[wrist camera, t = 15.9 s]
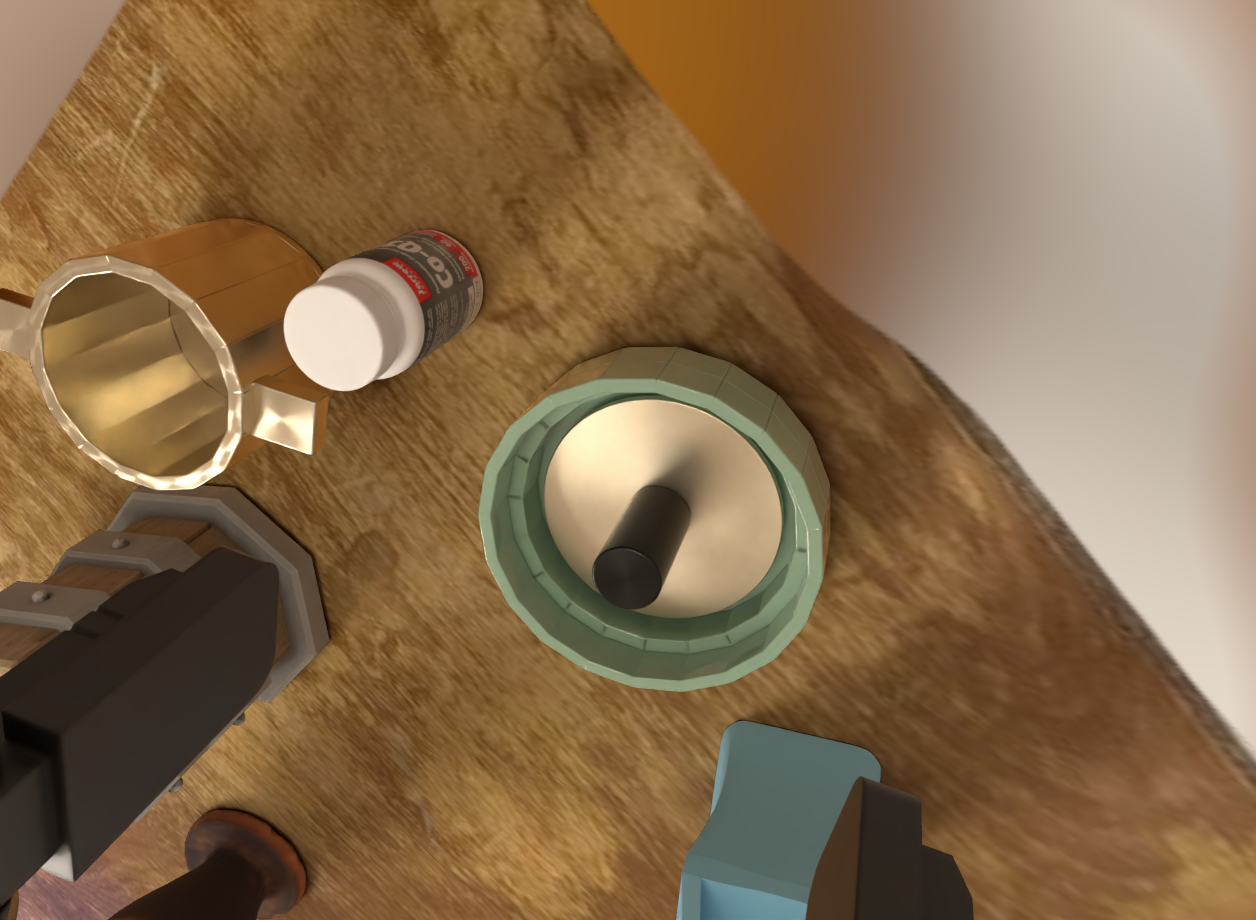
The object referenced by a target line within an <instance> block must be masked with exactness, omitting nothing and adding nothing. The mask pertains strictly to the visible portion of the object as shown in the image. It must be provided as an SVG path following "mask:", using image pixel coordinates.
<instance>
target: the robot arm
mask: <svg viewBox="0 0 1256 920" xmlns="http://www.w3.org/2000/svg"><path fill="white" fill-rule="evenodd" d="M278 595H279V571H278V568H277V566H276V565H275V564H273V563H271V562H268V561H265V560H262V559H259V558H257V557H254V556H251V555H248V554H245V553H243V552H240V551H237V550H234V549H232V548H229V547H225V546H221V547H217V548H215V549H214V550H212V551H210V552H209V553H208V554H207V555H205V556H204V557H203V558H201V559H200V560H199V561H197V562H196V563H195V564H193V565H192V566H191V567H189V568H188V569H187V570H185V571H184V572H181V571H178V570H175V569H172V568H170V569H168V570H165V571H162V572H160V573H157V574H154V575H151V576H149V577H146V578H143V579H140V580H138V581H135V582H132V583H130V584H128V585H127V586H126V587H124V588H123V589H122V590H120V591H119V592H117V593H116V594H115V595H113V596H112V597H110V598H109V599H108V600H106V601H105V602H104V603H102V604H101V605H99V607H98V610H97V611H96V612H95V611H91V612H90V613H88V614H87V615H85V616H84V617H83V618H81V619H80V620H79V621H77V622H76V623H74V624H73V625H72V628H71V630H70V631H68V630H65V631H63V632H62V633H61V634H59V635H58V636H56V637H55V638H54V639H52V640H51V641H49V642H48V643H47V644H45V645H44V646H43V647H41V648H40V649H38V650H37V651H36V652H34V653H33V654H31V655H30V656H29V657H27V658H26V659H25V660H23V661H22V662H20V663H19V664H18V665H16V666H15V667H13V668H12V669H11V670H9V671H8V672H7V673H5V674H4V675H2V676H1V677H0V920H16V918H17V911H18V904H19V894H18V889H20V888H21V887H22V886H23V885H24V884H25V883H26V882H27V881H28V880H29V879H30V878H31V877H32V876H33V875H34V874H35V873H36V872H37V871H38V870H39V869H42V870H44V871H47V872H49V873H51V874H54V875H56V876H58V877H61V878H63V879H65V880H68V881H70V882H73V883H74V882H75V881H76V880H77V879H78V878H79V877H80V876H81V875H82V874H83V873H84V872H85V871H86V870H87V869H88V868H89V867H90V866H91V865H92V864H93V863H94V862H95V861H96V860H97V858H98V857H99V856H100V855H101V854H102V853H103V852H104V851H105V850H106V849H107V848H108V847H109V846H110V845H111V844H112V843H113V842H114V841H115V840H116V839H117V838H118V837H119V836H120V835H121V834H122V833H123V832H124V831H125V830H126V829H127V828H128V827H129V825H130V824H131V823H132V822H133V821H134V820H135V819H136V818H137V817H138V816H139V815H140V814H141V813H142V812H143V811H144V810H145V809H146V808H147V807H148V806H149V805H150V804H151V803H152V802H153V801H154V800H155V799H156V798H157V797H158V796H159V795H160V794H161V792H162V791H163V790H164V789H165V788H166V787H167V786H168V785H169V784H170V783H171V782H172V781H173V780H174V779H175V778H176V777H177V776H178V775H179V774H180V773H181V772H182V771H183V770H184V769H185V768H186V767H187V766H188V765H189V764H190V763H191V762H192V761H193V759H194V758H195V757H196V756H197V755H198V754H199V753H200V752H201V751H202V750H203V749H204V748H205V747H206V746H207V745H208V744H209V743H210V742H211V741H212V740H213V739H214V738H215V737H216V736H217V735H218V734H219V733H220V732H221V731H222V730H223V729H224V728H225V727H226V725H227V724H228V723H229V722H230V721H231V720H232V719H233V718H234V717H235V716H236V715H237V714H238V713H239V712H240V711H241V710H242V709H243V708H244V707H245V706H246V705H247V704H248V703H249V702H250V701H251V700H252V699H253V698H254V696H255V695H256V694H257V693H258V692H259V690H260V689H261V687H262V686H263V684H264V682H265V681H266V679H267V677H268V675H269V672H270V670H271V667H272V665H273V661H274V657H275V651H276V633H277V614H278ZM805 920H974V918H973V904H972V896H971V894H970V892H969V890H968V888H967V886H966V884H965V881H964V879H963V877H962V875H961V873H960V871H959V869H958V867H957V865H956V862H955V860H954V858H953V856H952V855H949V854H947V853H944V852H941V851H938V850H936V849H933V848H930V847H927V846H925V845H922V825H921V802H920V799H919V797H918V796H915V795H912V794H909V793H907V792H904V791H901V790H898V789H896V788H893V787H890V786H887V785H884V784H882V783H879V782H876V781H873V780H870V779H868V778H865V777H862V776H859V777H858V778H857V779H856V781H855V782H854V784H853V786H852V788H851V791H850V793H849V795H848V797H847V799H846V802H845V804H844V806H843V808H842V811H841V813H840V815H839V817H838V819H837V822H836V824H835V826H834V828H833V830H832V833H831V835H830V837H829V839H828V842H827V844H826V846H825V848H824V850H823V853H822V855H821V857H820V860H819V862H818V865H817V868H816V871H815V874H814V878H813V881H812V885H811V889H810V894H809V898H808V904H807V911H806V919H805Z"/></svg>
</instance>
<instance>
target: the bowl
mask: <svg viewBox="0 0 1256 920" xmlns="http://www.w3.org/2000/svg"><path fill="white" fill-rule="evenodd" d="M636 396H666V397H671V398H674V399H677V400H680V401H684V402H687V403H690V404H693V405H697V406H700V407H703V408H706V409H709V410H710V411H712V412H713V413H715V414H716V415H718V416H719V417H721V418H722V419H724V420H725V421H727V422H728V423H730V424H731V425H733V426H734V427H736V428H737V429H739V430H740V431H742V432H743V433H745V434H746V435H748V436H749V438H750V439H751V440H752V441H753V442H754V443H755V444H756V445H757V447H758V448H759V449H760V450H761V452H762V453H763V455H764V456H765V458H766V459H767V461H768V462H769V464H770V466H771V468H772V470H773V472H774V474H775V476H776V479H777V482H778V485H779V488H780V491H781V496H782V501H783V508H784V526H783V535H782V539H781V543H780V547H779V551H778V554H777V556H776V558H775V561H774V563H773V565H772V567H771V569H770V570H769V572H768V573H767V575H766V577H765V578H764V579H763V580H762V581H761V583H760V584H759V585H758V586H757V587H756V588H755V589H754V590H753V591H752V592H751V593H749V594H748V595H747V596H746V597H745V598H743V599H742V600H740V601H738V602H737V603H735V604H734V605H732V606H730V607H727V608H725V609H723V610H721V611H718V612H715V613H712V614H709V615H705V616H699V617H693V618H679V619H676V618H661V617H655V616H650V615H645V614H642V613H638V612H635V611H632V610H629V609H623V608H619V607H617V606H614V605H613V604H611V603H609V602H608V601H606V600H605V599H604V598H603V597H602V596H601V595H600V594H599V593H598V592H596V591H595V590H593V589H592V588H591V587H590V586H589V585H587V584H586V583H585V582H584V581H583V580H582V579H581V578H580V577H579V576H578V575H577V574H576V573H575V572H574V571H573V570H572V569H571V567H570V566H569V565H568V563H567V562H566V561H565V559H564V558H563V557H562V555H561V553H560V551H559V550H558V548H557V546H556V544H555V542H554V540H553V538H552V535H551V533H550V530H549V527H548V523H547V520H546V515H545V509H544V482H545V475H546V472H547V468H548V465H549V462H550V459H551V457H552V455H553V453H554V450H555V449H556V447H557V446H558V444H559V443H560V441H561V440H562V438H563V437H564V436H565V435H566V433H567V432H568V431H569V430H570V429H571V428H572V427H573V426H574V425H575V424H576V423H577V422H578V421H579V420H580V419H582V418H583V417H584V416H585V415H587V414H589V413H590V412H592V411H593V410H595V409H597V408H599V407H601V406H603V405H606V404H608V403H610V402H613V401H617V400H620V399H624V398H629V397H636ZM478 513H479V514H478V517H479V523H480V529H481V535H482V541H483V546H484V552H485V558H486V562H487V564H488V566H489V568H490V570H491V572H492V574H493V576H494V578H495V580H496V582H497V584H498V586H499V588H500V590H501V592H502V594H503V596H504V598H505V600H506V602H507V604H508V605H509V606H510V607H511V608H512V610H513V611H514V612H515V613H516V614H517V615H518V616H519V617H520V618H521V620H522V621H523V622H524V623H525V624H526V625H527V626H528V627H529V628H530V629H531V631H532V632H533V633H534V634H535V635H536V636H537V637H538V638H539V639H540V641H542V642H543V643H545V644H546V645H548V646H549V647H551V648H552V649H554V650H555V651H557V652H558V653H560V654H561V655H563V656H564V657H566V658H567V659H569V660H570V661H572V662H573V663H575V664H576V665H578V666H579V667H581V668H582V669H585V670H586V671H589V672H591V673H594V674H597V675H600V676H603V677H605V678H608V679H611V680H614V681H617V682H619V683H622V684H625V685H628V686H631V687H632V686H633V687H635V688H646V689H657V690H668V691H678V692H685V691H690V690H696V689H701V688H707V687H712V686H718V685H723V684H728V683H731V682H734V681H736V680H738V679H739V678H741V677H743V676H745V675H747V674H749V673H751V672H753V671H754V670H756V669H758V668H760V667H762V666H764V665H766V664H768V663H769V662H771V661H773V660H774V659H776V657H777V656H778V655H779V654H780V653H781V652H782V651H783V650H784V649H785V647H786V646H787V645H788V644H789V643H790V642H791V641H792V640H793V639H794V637H795V636H796V635H797V634H798V633H799V632H800V631H801V630H802V629H803V627H804V626H805V625H806V623H807V621H808V618H809V615H810V613H811V610H812V607H813V605H814V602H815V600H816V597H817V594H818V592H819V589H820V586H821V584H822V581H823V576H824V570H825V563H826V557H827V551H828V545H829V538H830V532H831V517H830V483H829V480H828V477H827V475H826V472H825V469H824V466H823V464H822V461H821V458H820V456H819V453H818V450H817V448H816V445H815V442H814V440H813V437H811V434H810V433H809V432H808V430H807V429H806V428H805V427H804V425H803V424H802V423H801V422H800V421H799V419H798V418H797V417H796V416H795V414H794V413H793V412H792V411H791V409H790V408H789V407H788V406H787V404H786V403H785V402H784V401H783V399H782V398H781V397H780V396H779V395H777V393H776V392H774V391H773V390H771V389H770V388H768V387H767V386H765V385H764V384H762V383H761V382H759V381H758V380H756V379H755V378H753V377H752V376H750V375H749V374H747V373H746V372H744V371H743V370H741V369H740V368H738V367H737V366H735V365H734V364H731V363H730V362H727V361H724V360H720V359H717V358H714V357H710V356H707V355H704V354H701V353H697V352H694V351H691V350H687V349H684V348H681V347H680V348H678V347H627V348H622V349H620V350H617V351H614V352H611V353H608V354H605V355H602V356H599V357H596V358H594V359H591V360H588V361H585V362H582V363H580V364H577V365H576V366H575V367H574V368H572V369H571V370H570V371H569V372H567V373H566V374H565V375H564V376H562V377H561V378H560V379H559V380H557V381H556V382H555V383H554V384H553V385H551V386H550V387H549V388H548V389H546V390H545V391H544V392H543V393H542V394H541V395H540V396H539V397H538V398H537V399H536V400H535V401H534V402H533V403H532V404H531V405H530V406H529V407H528V408H527V409H526V410H525V411H524V412H523V413H522V414H521V415H520V416H519V417H518V418H517V419H516V420H515V421H514V422H513V423H512V424H511V425H510V426H509V427H508V429H507V431H506V433H505V434H504V436H503V438H502V439H501V441H500V443H499V445H498V446H497V448H496V450H495V452H494V453H493V455H492V457H491V458H490V460H489V462H488V464H487V465H486V468H485V473H484V479H483V485H482V491H481V497H480V503H479V510H478Z"/></svg>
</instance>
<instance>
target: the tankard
mask: <svg viewBox="0 0 1256 920" xmlns="http://www.w3.org/2000/svg"><path fill="white" fill-rule="evenodd" d="M221 546H225V547H229V548H232V549H234V550H237V551H240V552H243V553H245V554H248V555H251V556H254V557H257V558H259V559H262V560H265V561H268V562H271V563H273V564H275V565H276V566H277V568H278V571H279V595H278V614H277V633H276V651H275V657H274V661H273V665H272V667H271V670H270V672H269V675H268V677H267V679H266V681H265V682H264V684H263V686H262V687H261V689H260V690H259V692H258V693H257V694H256V695H255V696H254V698H253V699H252V700H251V701H250V702H249V703H248V704H247V705H246V706H245V707H244V708H243V709H242V710H241V711H240V712H239V713H238V714H237V715H236V716H235V717H234V718H233V719H232V720H231V721H230V722H229V723H228V724H227V725H226V727H225V728H224V729H223V730H222V731H221V732H220V733H219V734H218V735H217V736H216V737H215V738H214V739H213V740H212V741H211V742H210V743H209V744H208V745H207V746H206V747H205V748H204V749H203V750H202V751H201V752H200V753H199V754H198V755H197V756H196V757H195V758H194V759H193V761H192V762H191V763H190V764H189V765H188V766H187V767H186V768H185V769H184V770H183V771H182V772H181V773H180V774H179V775H178V776H177V777H176V778H175V779H174V780H173V781H172V782H171V783H170V784H169V785H168V786H167V787H166V788H165V789H164V790H163V791H162V792H161V794H160V795H159V796H158V797H157V798H156V799H155V800H154V801H153V802H152V803H151V804H150V805H149V806H148V807H147V808H146V809H145V810H144V811H143V812H142V813H141V814H140V815H139V816H138V817H137V818H136V819H135V820H134V821H133V822H139V821H140V819H141V818H142V817H143V816H144V815H145V814H146V813H147V812H148V811H149V810H150V809H151V808H152V807H153V806H154V805H155V804H156V803H157V802H158V801H159V800H160V799H161V798H162V797H163V796H164V795H165V794H166V792H167V791H169V792H176V791H178V790H179V789H181V787H182V785H183V780H182V778H181V777H182V776H183V775H184V774H185V772H186V771H187V770H188V769H189V768H190V767H191V766H192V765H193V764H194V763H195V762H196V761H197V760H198V759H199V758H200V757H201V756H202V755H203V754H204V752H206V751H207V750H208V749H209V748H210V747H211V746H212V745H213V744H214V743H215V742H216V741H217V740H218V738H219V737H220V736H221V735H222V734H223V733H224V732H225V731H226V730H227V729H228V728H229V727H230V726H231V725H232V724H233V725H240V724H242V723H243V722H244V720H245V713H243V712H244V711H245V710H246V709H247V708H248V707H249V706H250V705H251V704H252V703H253V702H254V701H255V700H257V701H264V702H271V701H272V700H273V699H274V698H275V697H276V696H277V695H278V694H279V693H280V692H281V691H282V690H283V689H284V688H285V687H286V686H287V685H288V684H289V683H290V682H291V680H292V679H293V678H294V677H295V676H296V675H297V674H298V673H299V672H300V671H301V670H302V669H303V668H304V667H305V666H306V665H307V664H308V663H309V662H310V661H311V660H312V659H313V658H314V657H315V656H316V655H317V654H318V653H319V651H320V650H321V649H322V648H323V647H324V646H325V645H326V644H327V643H328V642H329V636H328V631H327V627H326V622H325V618H324V613H323V608H322V604H321V599H320V594H319V590H318V585H317V580H316V576H315V571H314V567H313V562H312V557H311V556H310V555H309V554H308V553H307V552H306V551H305V550H303V549H302V548H301V547H300V546H299V545H298V544H297V543H296V542H294V541H293V540H292V539H291V538H290V537H289V536H288V535H287V534H286V533H284V532H283V531H282V530H281V529H280V528H279V527H278V526H277V525H276V524H274V523H273V522H272V521H271V520H270V519H269V518H268V517H267V516H266V515H264V514H263V513H262V512H261V511H260V510H259V509H258V508H257V507H256V506H254V505H253V504H252V503H251V502H250V501H249V500H248V499H247V498H245V497H244V496H243V495H242V494H241V493H240V492H239V491H238V490H237V489H235V488H231V487H219V486H206V485H201V486H200V487H198V488H195V489H187V490H167V491H157V490H153V489H150V488H147V487H145V486H141V487H139V488H138V489H136V490H134V491H133V492H132V493H131V494H130V496H129V497H128V499H127V500H126V502H125V503H124V504H123V506H122V507H121V509H120V510H119V512H118V513H117V515H116V516H115V518H114V519H113V521H112V522H111V524H110V525H109V527H108V528H107V529H106V531H104V530H98V531H96V532H95V533H93V534H91V535H90V536H88V537H87V538H85V539H83V540H82V541H80V542H79V543H77V544H76V545H74V546H72V547H71V548H69V549H68V550H66V552H65V553H64V555H63V556H62V558H61V559H60V561H59V562H58V563H57V565H56V566H55V568H54V570H53V571H52V573H51V574H50V576H49V577H48V579H47V580H46V581H44V582H42V583H41V584H38V583H30V582H21V581H17V582H15V583H14V584H12V585H10V586H9V587H7V588H6V589H4V590H2V591H1V592H0V677H1V676H2V675H4V674H5V673H7V672H8V671H9V670H11V669H12V668H13V667H15V666H16V665H18V664H19V663H20V662H22V661H23V660H25V659H26V658H27V657H29V656H30V655H31V654H33V653H34V652H36V651H37V650H38V649H40V648H41V647H43V646H44V645H45V644H47V643H48V642H49V641H51V640H52V639H54V638H55V637H56V636H58V635H59V634H61V633H62V632H63V631H65V630H68V631H70V630H71V628H72V625H73V624H74V623H76V622H77V621H79V620H80V619H81V618H83V617H84V616H85V615H87V614H88V613H90V612H91V611H95V612H96V611H97V610H98V607H99V605H101V604H102V603H104V602H105V601H106V600H108V599H109V598H110V597H112V596H113V595H115V594H116V593H117V592H119V591H120V590H122V589H123V588H124V587H126V586H127V585H128V584H130V583H132V582H135V581H138V580H140V579H143V578H146V577H149V576H151V575H154V574H157V573H160V572H162V571H165V570H168V569H170V568H172V569H175V570H178V571H181V572H184V571H185V570H187V569H188V568H189V567H191V566H192V565H193V564H195V563H196V562H197V561H199V560H200V559H201V558H203V557H204V556H205V555H207V554H208V553H209V552H210V551H212V550H214V549H215V548H217V547H221Z"/></svg>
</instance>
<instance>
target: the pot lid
mask: <svg viewBox="0 0 1256 920" xmlns="http://www.w3.org/2000/svg"><path fill="white" fill-rule="evenodd" d="M544 509H545V515H546V520H547V523H548V527H549V530H550V533H551V535H552V538H553V540H554V542H555V544H556V546H557V548H558V550H559V551H560V553H561V555H562V557H563V558H564V559H565V561H566V562H567V563H568V565H569V566H570V567H571V569H572V570H573V571H574V572H575V573H576V574H577V575H578V576H579V577H580V578H581V579H582V580H583V581H584V582H585V583H586V584H587V585H589V586H590V587H591V588H592V589H593V590H595V591H596V592H598V593H599V594H600V595H601V596H602V597H603V598H604V599H605V600H606V601H608V602H609V603H611V604H613V605H614V606H617V607H619V608H623V609H629V610H632V611H635V612H638V613H642V614H645V615H650V616H655V617H661V618H676V619H679V618H693V617H699V616H705V615H709V614H712V613H715V612H718V611H721V610H723V609H725V608H727V607H730V606H732V605H734V604H735V603H737V602H738V601H740V600H742V599H743V598H745V597H746V596H747V595H748V594H749V593H751V592H752V591H753V590H754V589H755V588H756V587H757V586H758V585H759V584H760V583H761V581H762V580H763V579H764V578H765V577H766V575H767V573H768V572H769V570H770V569H771V567H772V565H773V563H774V561H775V558H776V556H777V554H778V551H779V547H780V543H781V539H782V535H783V526H784V508H783V501H782V496H781V491H780V488H779V485H778V482H777V479H776V476H775V474H774V472H773V470H772V468H771V466H770V464H769V462H768V461H767V459H766V458H765V456H764V455H763V453H762V452H761V450H760V449H759V448H758V447H757V445H756V444H755V443H754V442H753V441H752V440H751V439H750V438H749V436H748V435H746V434H745V433H743V432H742V431H740V430H739V429H737V428H736V427H734V426H733V425H731V424H730V423H728V422H727V421H725V420H724V419H722V418H721V417H719V416H718V415H716V414H715V413H713V412H712V411H710V410H709V409H706V408H703V407H700V406H697V405H693V404H690V403H687V402H684V401H680V400H677V399H674V398H671V397H666V396H636V397H629V398H624V399H620V400H617V401H613V402H610V403H608V404H606V405H603V406H601V407H599V408H597V409H595V410H593V411H592V412H590V413H589V414H587V415H585V416H584V417H583V418H582V419H580V420H579V421H578V422H577V423H576V424H575V425H574V426H573V427H572V428H571V429H570V430H569V431H568V432H567V433H566V435H565V436H564V437H563V438H562V440H561V441H560V443H559V444H558V446H557V447H556V449H555V450H554V453H553V455H552V457H551V459H550V462H549V465H548V468H547V472H546V475H545V482H544Z"/></svg>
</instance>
